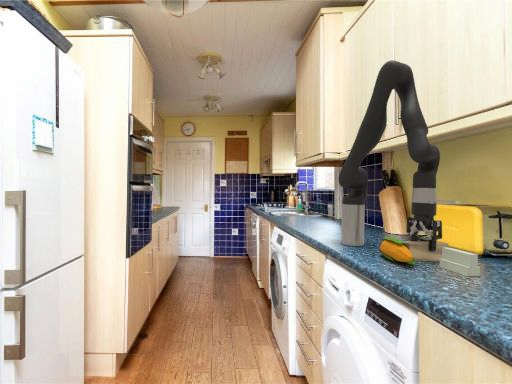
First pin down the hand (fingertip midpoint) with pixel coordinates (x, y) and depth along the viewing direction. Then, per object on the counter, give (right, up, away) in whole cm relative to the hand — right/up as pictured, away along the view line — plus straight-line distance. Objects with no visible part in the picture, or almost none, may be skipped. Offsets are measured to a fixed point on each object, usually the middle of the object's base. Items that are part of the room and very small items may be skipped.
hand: (422, 248), depth 102 cm
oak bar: (+1, -4, 0) cm, 4 cm away
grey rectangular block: (+2, -4, -15) cm, 15 cm away
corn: (-10, -4, -4) cm, 12 cm away
